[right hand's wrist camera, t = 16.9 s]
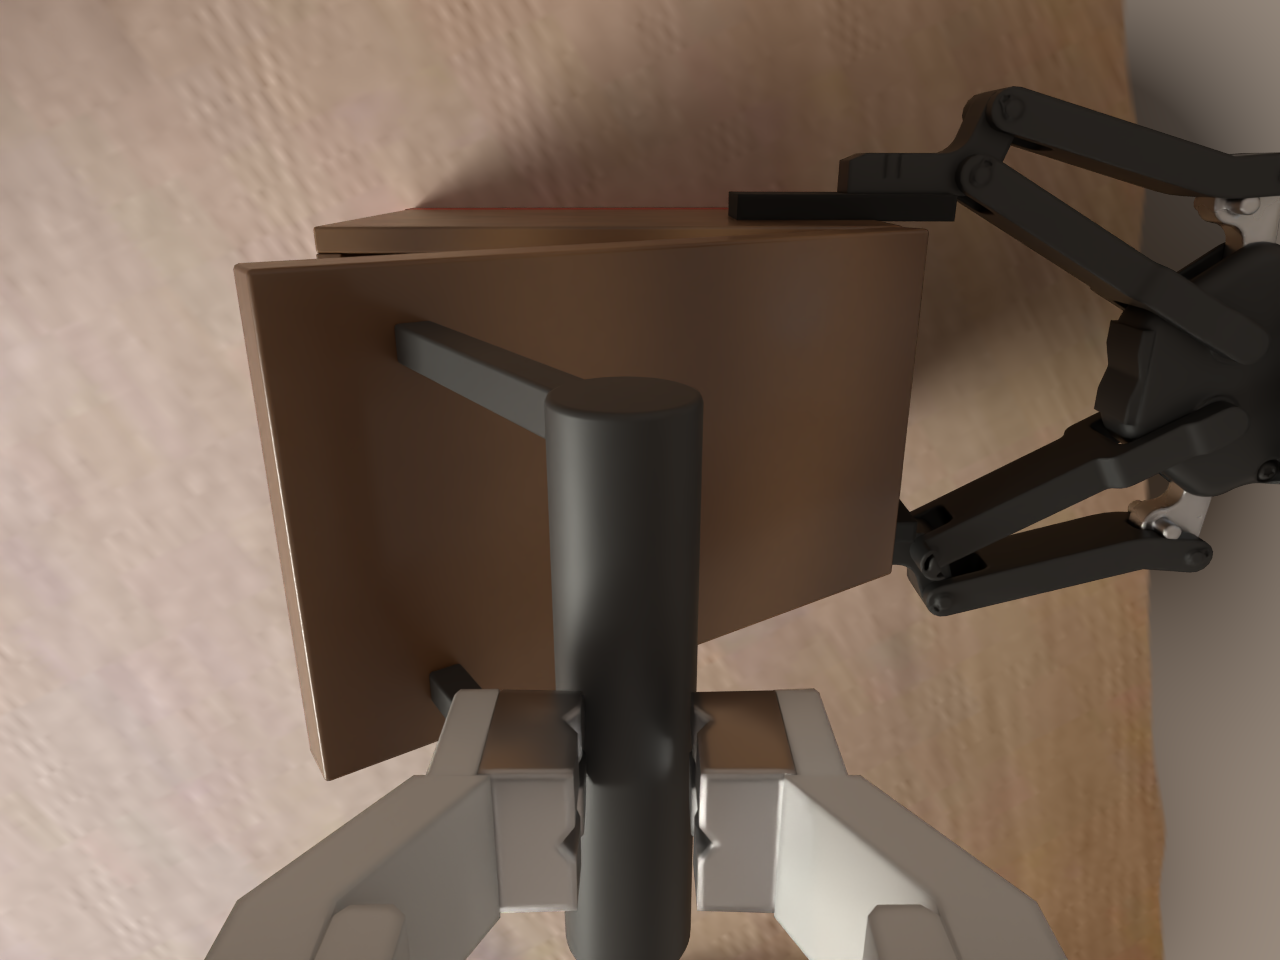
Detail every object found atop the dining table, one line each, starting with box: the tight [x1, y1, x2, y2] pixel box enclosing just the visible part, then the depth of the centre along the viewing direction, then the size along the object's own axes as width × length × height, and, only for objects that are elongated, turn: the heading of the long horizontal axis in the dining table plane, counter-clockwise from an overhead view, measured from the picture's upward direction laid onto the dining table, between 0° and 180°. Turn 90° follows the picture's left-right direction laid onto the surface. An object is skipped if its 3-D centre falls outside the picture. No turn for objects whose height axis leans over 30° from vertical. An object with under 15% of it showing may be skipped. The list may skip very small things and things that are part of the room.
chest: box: [314, 208, 902, 259], centre depth 30 cm, size 16×10×11 cm, turn 90°
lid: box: [233, 227, 928, 960], centre depth 17 cm, size 16×10×9 cm
